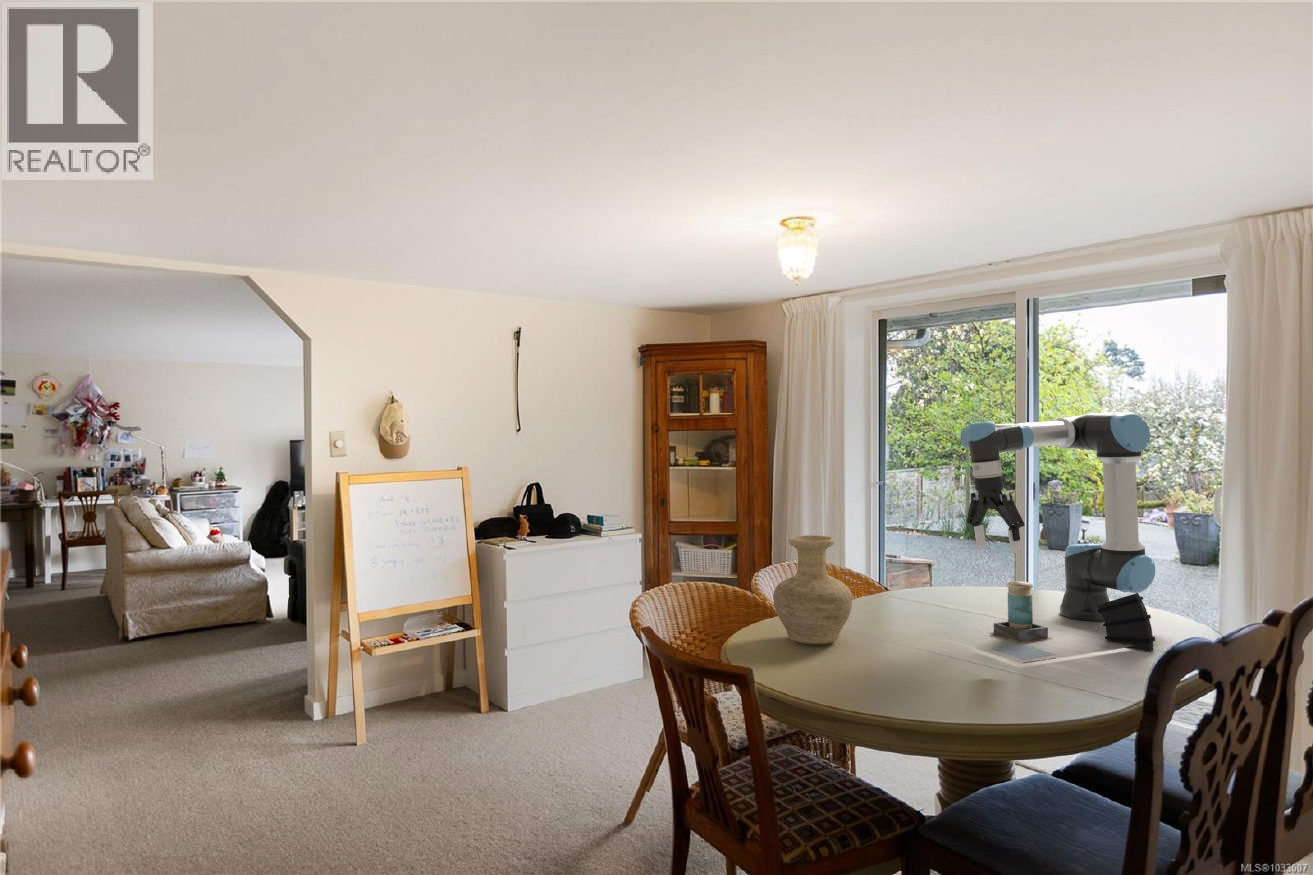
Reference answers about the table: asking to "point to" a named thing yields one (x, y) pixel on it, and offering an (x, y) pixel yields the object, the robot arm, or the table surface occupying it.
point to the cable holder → (1021, 633)
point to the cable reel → (1020, 605)
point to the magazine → (1128, 622)
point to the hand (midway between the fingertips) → (998, 550)
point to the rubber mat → (1024, 652)
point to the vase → (812, 595)
